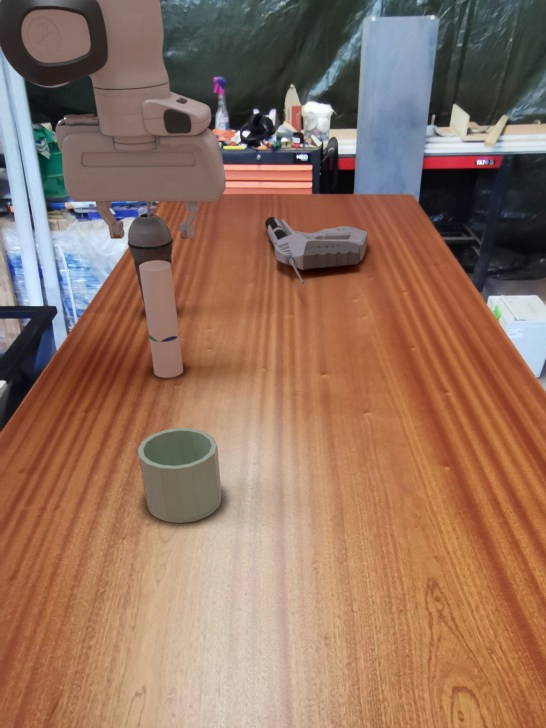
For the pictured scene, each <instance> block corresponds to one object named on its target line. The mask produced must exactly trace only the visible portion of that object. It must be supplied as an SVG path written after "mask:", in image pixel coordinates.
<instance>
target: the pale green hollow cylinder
mask: <svg viewBox="0 0 546 728" xmlns="http://www.w3.org/2000/svg"><path fill="white" fill-rule="evenodd" d="M137 454H138V460H139V466H140V472H141V477H142V483H143V489H144V495H145V500H146V505H147V509H148V512H150V514H151V515H152V516H154V517H155V518H156V519H158V520H161V521H163V522H168V523H173V524H174V523H175V524H186V523H193V522H196V521H200V520H203V519H205V518H208V517H209V516H211V515H212V514H214V513H215V512H216V511H217V510H218V508H219V507H220V506H221V504H222V503H221V502H222V484H221V473H220V462H219V451H218V444H217V441H216V439H215V437H214V436H212V435H211V434H209V433H208V432H207V431H203V430H200V429H196V428H190V427H175V428H168V429H164V430H161V431H158V432H155V433H152V434H151V435H149V436H147V437H146V438H145V439H143V440H142V441H141V443H140V445H139V446H138V448H137Z"/></svg>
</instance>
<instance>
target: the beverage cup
mask: <svg viewBox="0 0 546 728" xmlns="http://www.w3.org/2000/svg"><path fill="white" fill-rule="evenodd" d="M146 210H147V211H146V213H142V214H139V215H138V216H136V217H135V218H134V219H133V220H132V222H131V224H130V226H129V228H128V232H127V246H128V248H129V251H130V254H131V257H132V260H133V263H134V268H135V273H136V277H137V281H138V284H139V285H138V286H139V288H140V294H141V299H142V302H143V306H144V307H145V305H144V298H143V291H142V284H141V277H140V270H139V266H140V265H141V264H142V263H145V262H148V261H156V260H161V261H167V262H169V263H171V269H172V270H173V265H172V264H173V262H172V261H173V260H172V255H173V242H174V239H173V237H172V233H171V230H170V228H169V226H168V224H167V223H166V222H165V220H164V219H162V218H161V217H160V216H159V215H157V214H155V213H151V202H146Z"/></svg>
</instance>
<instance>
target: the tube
mask: <svg viewBox="0 0 546 728" xmlns="http://www.w3.org/2000/svg"><path fill="white" fill-rule="evenodd" d="M139 270H140V277H141V284H142V291H143V298H144V303H143V306H144V305H145V306H144V311H145V317H146V323H147V324H146V325H147V331H148V332H147V333H148V335H149V336H148V338H149V347H150V353H151V359H152V366H153V374H154V375H155V376H157V377H159V378H164V379H167V378H170V379H171V378H174V377H178V376H180V375H182V374H183V372H184V365H183V357H182V347H181V339H180V330H179V321H178V315H177V304H176V297H175V287H174V278H173V268H172V269H171V263H169V262H167V261H161V260H156V261H148V262H145V263H142V264H141V265H140V266H139ZM143 298H142V299H143Z"/></svg>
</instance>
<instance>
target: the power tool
mask: <svg viewBox="0 0 546 728" xmlns="http://www.w3.org/2000/svg"><path fill="white" fill-rule="evenodd" d="M264 223H265V224H264V225H265V228H266V232H267V235H268V237H269V239H270V241H271V243H272V245H273V247H274V257H275V259H276V260H277V261H278V262H280V263H282V264H284V265H288V266H290V267H292V268H293V269H294V271H295V273H296V275H297V277H298V279H299V281H300V282H301V285H302V286H303V287H304V286H306V285H305V282H304V280H303V278H302V277H301V275H300V272H299V271H298V270H302V271H305V270H306V271H307V270H310V269H320V268H334V267H345V266H356V265H359V263H360V262H362V261H363V258H364V257H365V254H366V251H367V248H368V234H369V232H368V231H365V230H363V229H361V228H357V227H354V226H350V225H349V226H347V225H343V226H342V225H339V226H336V227H329V228H323V229H321V230H319V231H316V232H305V231H300V230H294V229H292V228H291V226H290V225H289V224H288V223H287V222H286V220H285V219H282V218H281V219H280V220H279V219H278V218H276V217H275V216H270V217H268V218H267V219H266V220H265V222H264Z"/></svg>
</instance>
